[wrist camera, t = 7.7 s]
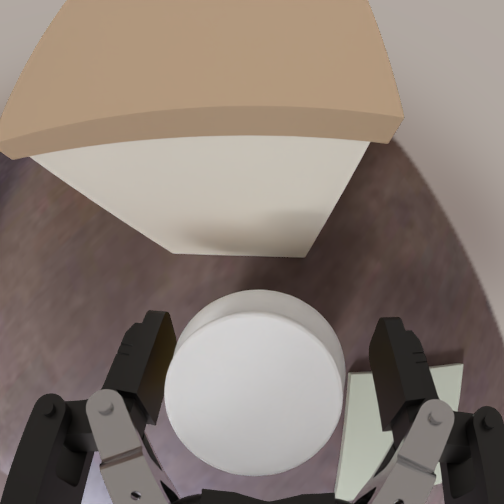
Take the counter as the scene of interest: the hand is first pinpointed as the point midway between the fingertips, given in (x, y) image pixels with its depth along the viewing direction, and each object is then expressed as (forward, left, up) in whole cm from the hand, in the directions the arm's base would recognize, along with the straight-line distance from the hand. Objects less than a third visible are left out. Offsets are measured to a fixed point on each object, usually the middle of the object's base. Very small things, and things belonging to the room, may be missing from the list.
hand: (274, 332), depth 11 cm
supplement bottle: (-1, -1, -5) cm, 5 cm away
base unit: (-2, +6, -5) cm, 8 cm away
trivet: (+7, -6, -5) cm, 11 cm away
